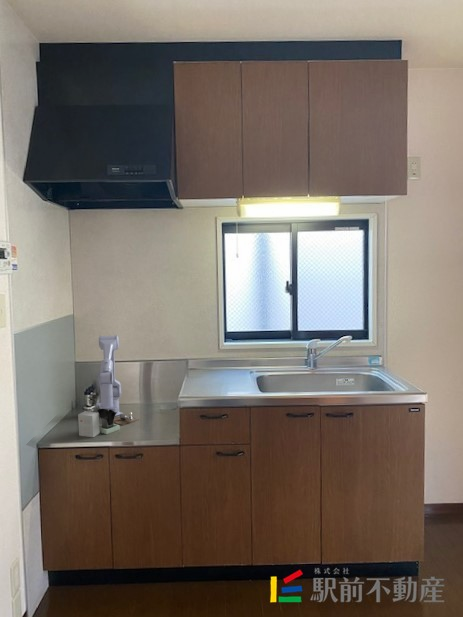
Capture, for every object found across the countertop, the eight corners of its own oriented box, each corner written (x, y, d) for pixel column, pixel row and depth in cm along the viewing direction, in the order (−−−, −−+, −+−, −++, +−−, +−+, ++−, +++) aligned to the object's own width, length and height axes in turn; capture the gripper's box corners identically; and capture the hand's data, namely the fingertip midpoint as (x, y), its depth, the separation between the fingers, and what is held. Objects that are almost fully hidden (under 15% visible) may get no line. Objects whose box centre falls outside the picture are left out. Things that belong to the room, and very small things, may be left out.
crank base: (108, 421, 263) (108, 419, 263) (124, 416, 271) (124, 413, 271) (122, 425, 256) (122, 423, 256) (138, 419, 265) (138, 417, 265)
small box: (100, 433, 245) (99, 412, 244) (93, 437, 239) (92, 415, 238) (85, 432, 247) (84, 410, 246) (78, 435, 242) (77, 414, 241)
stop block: (101, 430, 248) (101, 418, 248) (108, 427, 252) (108, 416, 251) (107, 431, 246) (106, 419, 245) (113, 429, 249) (113, 417, 249)
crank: (118, 418, 263) (118, 410, 263) (123, 416, 266) (123, 409, 266) (129, 421, 258) (129, 413, 258) (135, 419, 261) (135, 412, 260)
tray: (95, 431, 248) (95, 426, 248) (109, 426, 255) (109, 422, 254) (106, 434, 243) (106, 430, 243) (119, 429, 250) (119, 425, 249)
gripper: (90, 396, 248) (91, 423, 250) (109, 400, 240) (110, 429, 241) (102, 392, 254) (103, 419, 255) (121, 397, 245) (122, 425, 247)
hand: (107, 423), depth 249 cm, fingers closed on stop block, 4 cm apart
